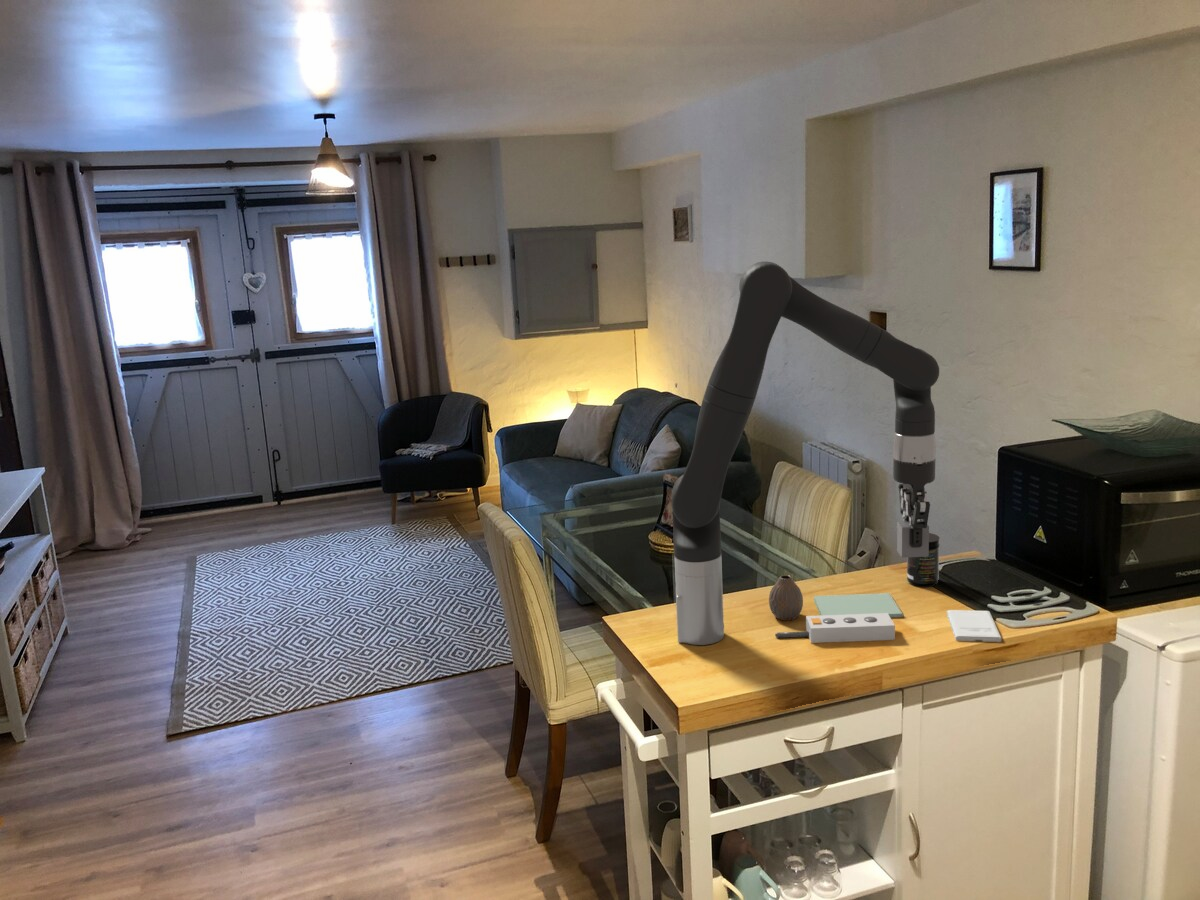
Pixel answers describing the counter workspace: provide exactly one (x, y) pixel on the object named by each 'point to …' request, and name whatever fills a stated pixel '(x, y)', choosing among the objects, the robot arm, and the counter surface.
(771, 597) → the vase
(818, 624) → the power strip
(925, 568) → the supplement container
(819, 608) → the mat
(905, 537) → the plug
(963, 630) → the external hard drive
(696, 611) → the robot arm
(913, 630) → the counter surface
